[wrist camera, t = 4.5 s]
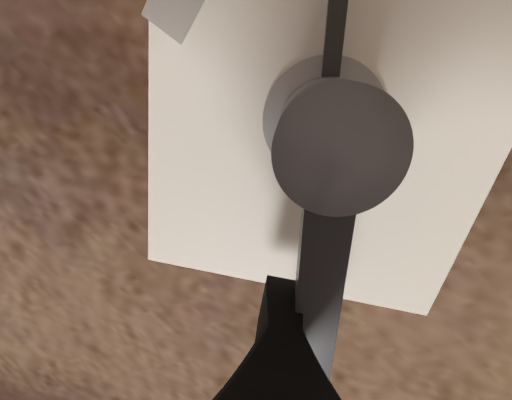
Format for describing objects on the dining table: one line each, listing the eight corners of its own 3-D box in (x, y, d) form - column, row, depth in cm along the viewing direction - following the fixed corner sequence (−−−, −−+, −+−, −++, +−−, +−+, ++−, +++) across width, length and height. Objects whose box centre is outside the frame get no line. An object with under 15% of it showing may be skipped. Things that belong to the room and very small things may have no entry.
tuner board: (154, 246, 14) (142, 261, 13) (159, -154, 9) (139, -186, 8) (418, 299, 14) (428, 319, 12) (605, -97, 8) (654, -124, 7)
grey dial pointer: (292, -153, 7) (287, -366, 4) (413, -161, 7) (537, -401, 3) (271, 335, 14) (261, 432, 10) (334, 342, 13) (347, 444, 10)
